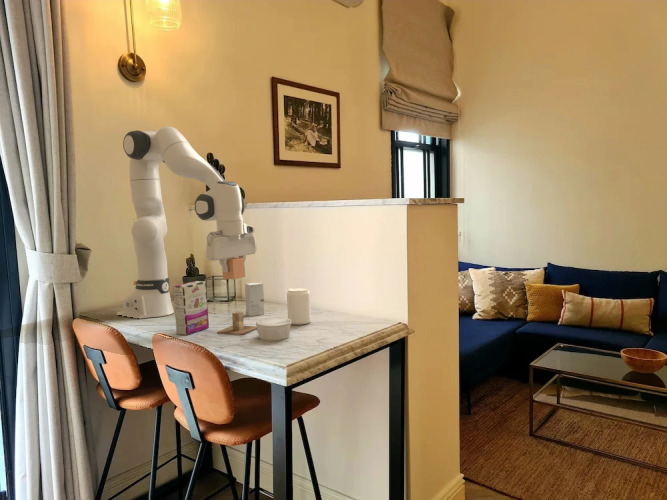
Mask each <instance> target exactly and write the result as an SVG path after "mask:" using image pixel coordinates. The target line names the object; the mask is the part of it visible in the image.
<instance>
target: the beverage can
mask: <svg viewBox="0 0 667 500" xmlns="http://www.w3.org/2000/svg"><path fill="white" fill-rule="evenodd" d="M287 290H288V291H287V292H286V293H287V294H286V298H287V299H286V300H287V301H286V303H287V319H290V320H291V325H294V326H296V325H297V326H300V325H302V326H303V325H307V324H309V323H310V322H312V313H311V311H312V310H311V292H310V290H309V288H307V287H291V288H288V289H287Z"/></svg>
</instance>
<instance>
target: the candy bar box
mask: <svg viewBox="0 0 667 500" xmlns="http://www.w3.org/2000/svg"><path fill="white" fill-rule="evenodd" d="M172 290H173V302H174V303H173V304H174V305H173V306H174V314H175V316H174V317H175V327H176V328H175V331H176V332H175V333H176V335H178V336H179V335H180V336H190V335H192V334H194V333H195V334H196V333H199V332H200V331H203V330H206V329H208V328H210V326H209V309H208V296H207V293H208V292H207V282H206V281H204V280H202V281H201V280H200V281H199V280H195V281H191V282H187V283H181V284H177V285H174V286H172Z"/></svg>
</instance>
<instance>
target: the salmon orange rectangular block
mask: <svg viewBox="0 0 667 500" xmlns="http://www.w3.org/2000/svg"><path fill="white" fill-rule="evenodd" d="M226 264H227V266H228V267H230V272H223V267H222V266H221V268H222V279H224V280H237V279H242V278H246V272H245V262H244V258H239V257H233V258H227V262H226Z"/></svg>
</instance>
